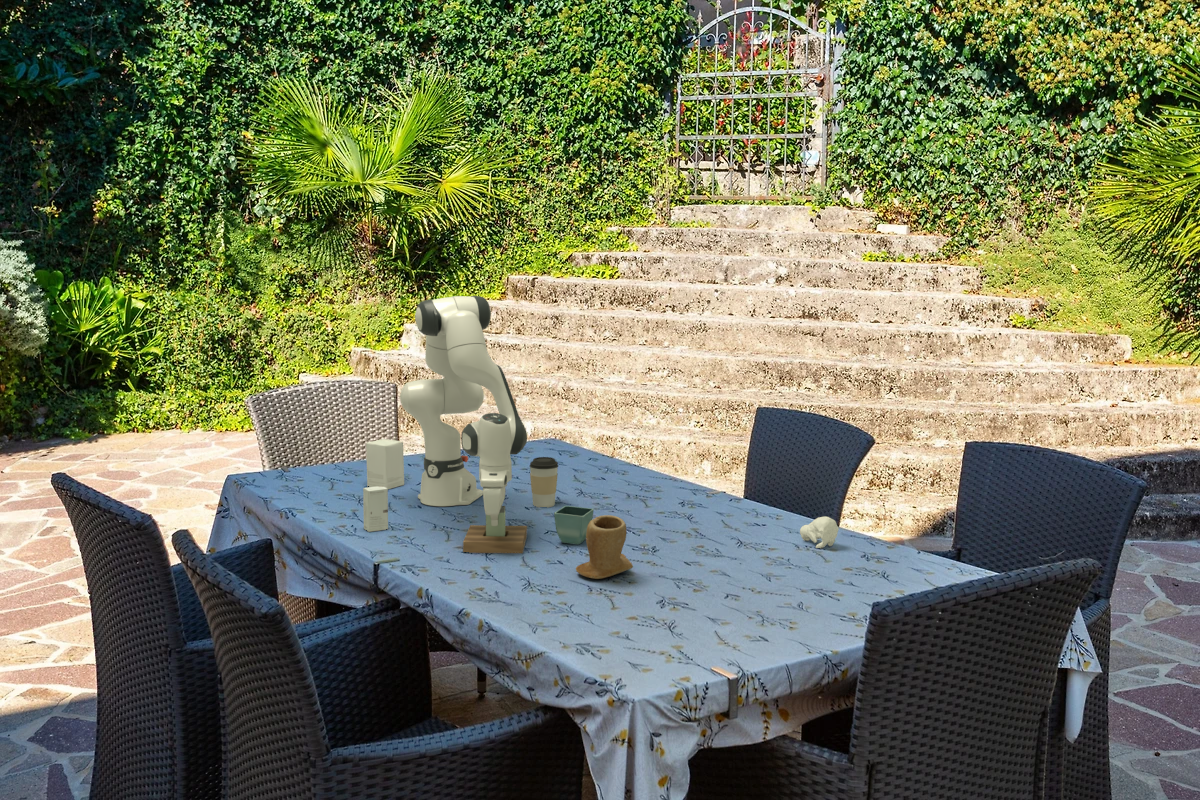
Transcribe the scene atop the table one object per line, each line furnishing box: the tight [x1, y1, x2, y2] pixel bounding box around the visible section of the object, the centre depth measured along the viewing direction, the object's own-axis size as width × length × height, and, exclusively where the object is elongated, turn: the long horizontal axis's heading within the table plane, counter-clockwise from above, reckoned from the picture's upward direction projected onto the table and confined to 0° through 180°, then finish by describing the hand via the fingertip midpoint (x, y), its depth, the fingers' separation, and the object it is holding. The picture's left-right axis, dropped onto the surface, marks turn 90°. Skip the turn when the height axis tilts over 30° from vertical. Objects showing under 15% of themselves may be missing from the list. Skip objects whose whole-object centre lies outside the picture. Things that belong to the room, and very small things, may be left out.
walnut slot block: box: [462, 524, 528, 554], centre depth 300 cm, size 16×16×3 cm
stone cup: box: [575, 514, 634, 580], centre depth 275 cm, size 15×12×15 cm
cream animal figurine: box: [799, 516, 840, 549], centre depth 303 cm, size 6×8×12 cm
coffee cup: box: [529, 456, 559, 508], centre depth 340 cm, size 9×9×15 cm
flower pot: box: [554, 505, 594, 545], centre depth 302 cm, size 9×9×9 cm
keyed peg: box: [485, 505, 506, 536], centre depth 299 cm, size 4×5×8 cm
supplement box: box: [365, 438, 405, 490], centre depth 362 cm, size 9×9×15 cm
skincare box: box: [362, 486, 389, 533], centre depth 312 cm, size 6×4×12 cm
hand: (495, 522), depth 299 cm, fingers closed on keyed peg, 3 cm apart
